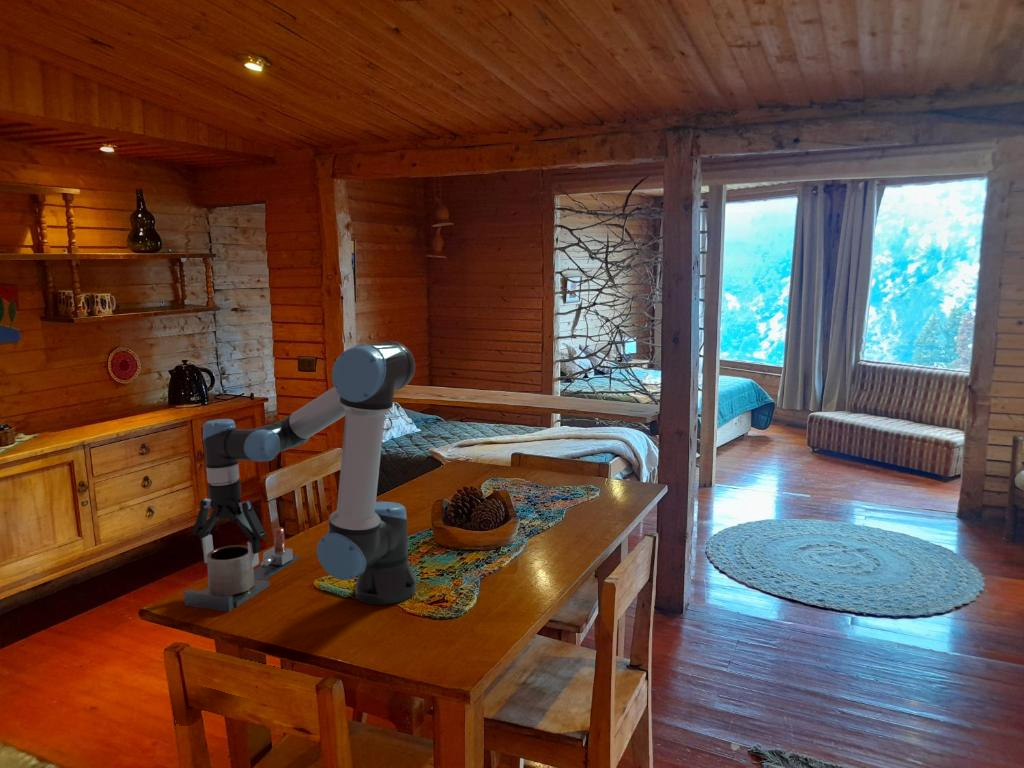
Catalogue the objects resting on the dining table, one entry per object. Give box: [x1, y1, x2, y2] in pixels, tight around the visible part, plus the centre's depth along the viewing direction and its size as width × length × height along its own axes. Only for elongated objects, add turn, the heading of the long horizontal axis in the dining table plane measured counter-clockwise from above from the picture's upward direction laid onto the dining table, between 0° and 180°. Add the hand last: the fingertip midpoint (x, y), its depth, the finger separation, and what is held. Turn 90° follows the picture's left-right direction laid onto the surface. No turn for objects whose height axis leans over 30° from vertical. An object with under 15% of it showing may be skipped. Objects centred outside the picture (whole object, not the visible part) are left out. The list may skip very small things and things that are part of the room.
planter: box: [206, 544, 255, 596], centre depth 184 cm, size 11×11×10 cm
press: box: [183, 555, 301, 613], centre depth 193 cm, size 34×13×4 cm, turn 162°
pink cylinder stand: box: [260, 526, 294, 568], centre depth 201 cm, size 9×6×9 cm, turn 162°
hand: (231, 563), depth 184 cm, fingers open, 13 cm apart
